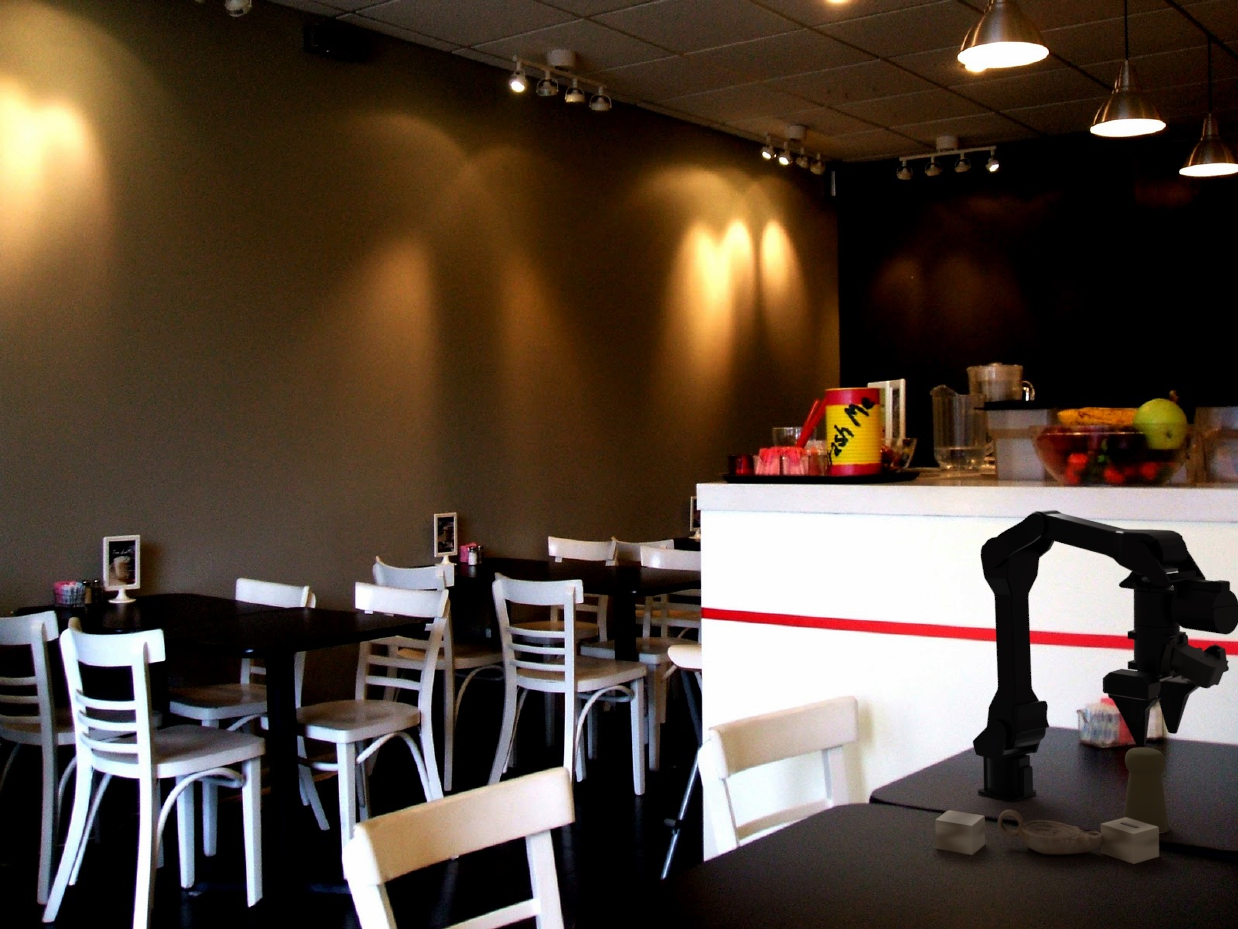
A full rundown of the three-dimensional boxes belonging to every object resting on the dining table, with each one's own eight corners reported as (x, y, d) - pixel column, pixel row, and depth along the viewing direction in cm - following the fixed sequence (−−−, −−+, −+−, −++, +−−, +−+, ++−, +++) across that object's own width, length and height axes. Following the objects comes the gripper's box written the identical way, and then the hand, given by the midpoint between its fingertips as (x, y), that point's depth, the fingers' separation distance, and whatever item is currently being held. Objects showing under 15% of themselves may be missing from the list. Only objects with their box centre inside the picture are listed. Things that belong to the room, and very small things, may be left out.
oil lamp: (1104, 848, 165) (1103, 811, 165) (1100, 866, 158) (1099, 828, 158) (1002, 837, 170) (1001, 801, 170) (994, 854, 164) (993, 816, 164)
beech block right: (1101, 854, 163) (1100, 823, 163) (1126, 847, 165) (1125, 816, 165) (1133, 865, 159) (1133, 833, 158) (1159, 857, 161) (1158, 826, 161)
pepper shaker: (1174, 835, 169) (1173, 755, 169) (1127, 833, 170) (1126, 754, 170) (1163, 821, 175) (1162, 744, 175) (1118, 819, 176) (1117, 743, 176)
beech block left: (935, 849, 166) (935, 819, 166) (949, 839, 170) (948, 810, 170) (972, 856, 163) (971, 825, 163) (985, 845, 167) (984, 815, 167)
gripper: (1185, 640, 154) (1185, 764, 155) (1248, 622, 166) (1247, 737, 167) (1100, 630, 163) (1100, 748, 163) (1165, 614, 175) (1166, 723, 175)
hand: (1156, 739), depth 167 cm, fingers open, 9 cm apart
